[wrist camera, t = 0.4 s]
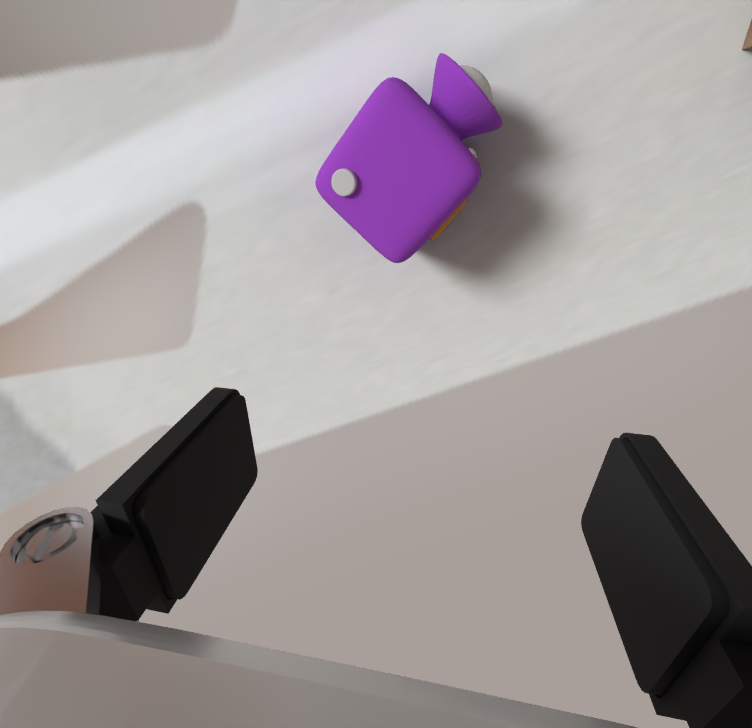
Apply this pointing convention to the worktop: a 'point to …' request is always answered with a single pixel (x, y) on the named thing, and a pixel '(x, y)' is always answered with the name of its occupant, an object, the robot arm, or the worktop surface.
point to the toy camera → (409, 159)
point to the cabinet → (748, 39)
